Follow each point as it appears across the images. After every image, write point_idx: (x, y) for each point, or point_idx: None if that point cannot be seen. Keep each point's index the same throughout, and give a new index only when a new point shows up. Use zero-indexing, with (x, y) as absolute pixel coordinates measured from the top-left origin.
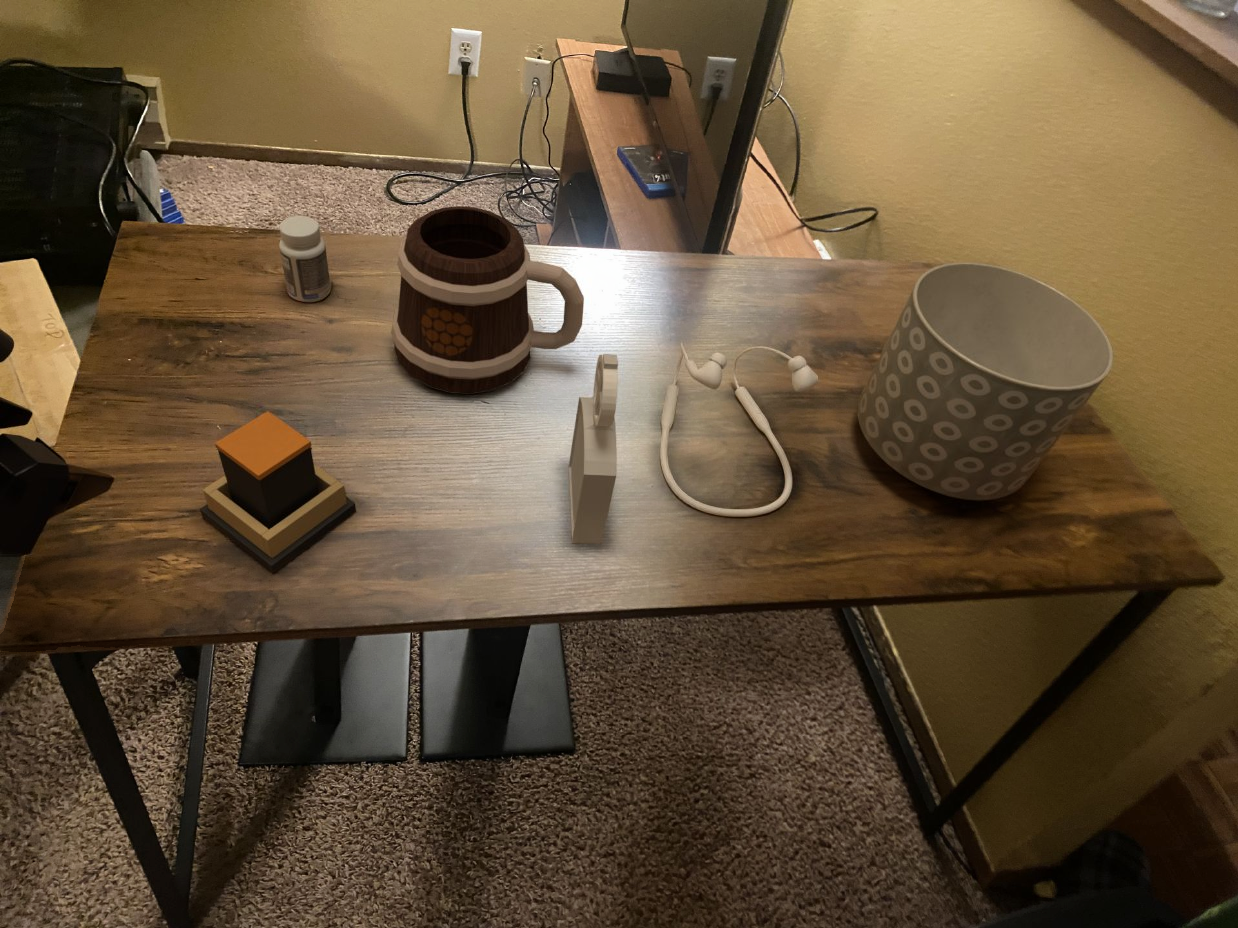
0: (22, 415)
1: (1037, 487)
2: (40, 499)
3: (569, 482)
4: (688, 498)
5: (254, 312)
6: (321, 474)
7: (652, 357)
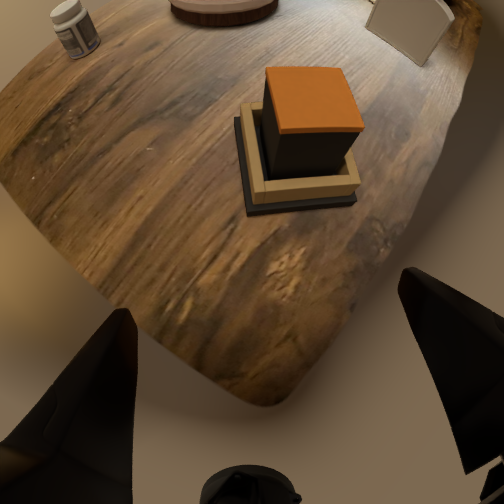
0: (127, 329)
1: None
2: None
3: (378, 35)
4: None
5: (68, 82)
6: None
7: None
